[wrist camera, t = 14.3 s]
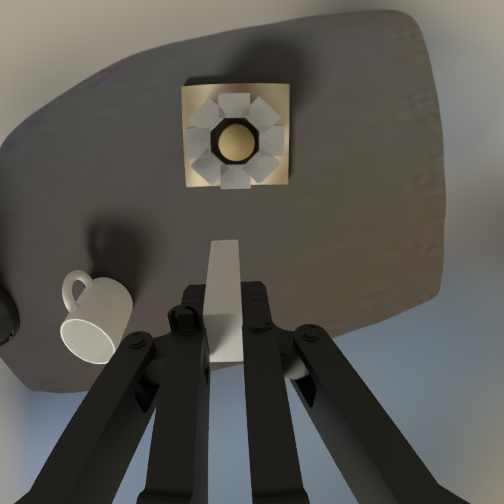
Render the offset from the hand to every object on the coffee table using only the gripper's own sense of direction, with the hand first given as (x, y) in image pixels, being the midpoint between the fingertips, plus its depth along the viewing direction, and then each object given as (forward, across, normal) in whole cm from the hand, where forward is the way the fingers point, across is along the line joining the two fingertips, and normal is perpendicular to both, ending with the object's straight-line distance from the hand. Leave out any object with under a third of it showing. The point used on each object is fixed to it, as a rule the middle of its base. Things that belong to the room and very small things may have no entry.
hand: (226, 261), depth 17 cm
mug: (+21, -20, -15) cm, 33 cm away
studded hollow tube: (+19, +1, +6) cm, 20 cm away
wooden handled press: (+20, +1, +6) cm, 21 cm away
